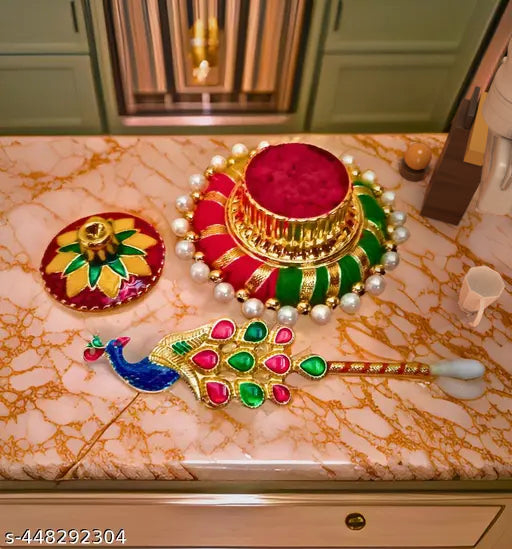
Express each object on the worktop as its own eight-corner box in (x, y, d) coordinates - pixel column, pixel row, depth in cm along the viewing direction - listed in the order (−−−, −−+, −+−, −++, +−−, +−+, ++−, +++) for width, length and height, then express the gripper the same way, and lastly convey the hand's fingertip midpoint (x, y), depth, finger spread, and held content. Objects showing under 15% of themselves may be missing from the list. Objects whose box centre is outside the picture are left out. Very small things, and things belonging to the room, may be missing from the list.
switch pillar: (457, 226, 118) (509, 125, 95) (419, 215, 119) (461, 113, 96) (464, 198, 122) (514, 95, 99) (426, 188, 123) (468, 84, 101)
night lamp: (416, 158, 128) (425, 133, 122) (432, 176, 125) (441, 152, 119) (393, 166, 126) (401, 141, 120) (408, 184, 124) (417, 160, 117)
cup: (489, 293, 109) (505, 269, 102) (487, 339, 104) (505, 317, 97) (451, 285, 110) (465, 261, 103) (448, 330, 104) (462, 308, 98)
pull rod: (481, 166, 94) (487, 153, 91) (463, 161, 94) (468, 148, 92) (493, 108, 101) (499, 95, 99) (476, 103, 102) (482, 91, 100)
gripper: (547, 174, 63) (501, 247, 74) (555, 58, 73) (514, 138, 85) (487, 161, 64) (452, 235, 75) (504, 49, 74) (470, 129, 86)
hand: (485, 183), depth 80 cm, fingers open, 8 cm apart
